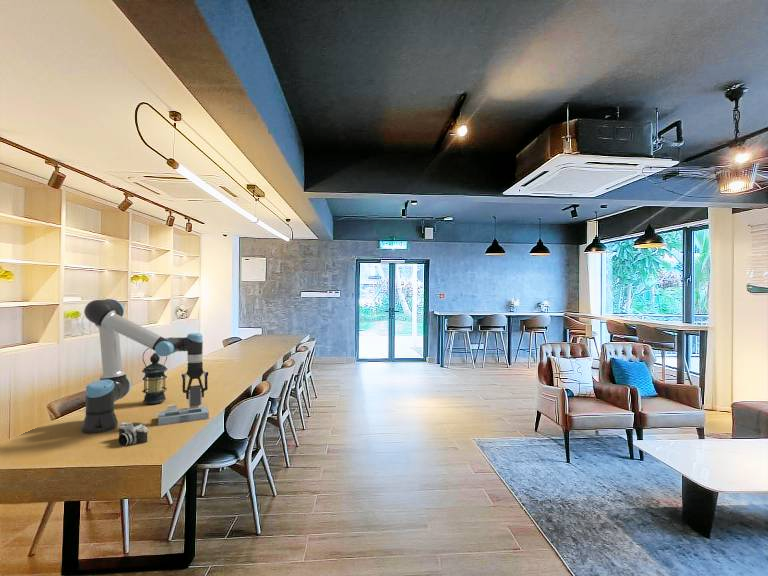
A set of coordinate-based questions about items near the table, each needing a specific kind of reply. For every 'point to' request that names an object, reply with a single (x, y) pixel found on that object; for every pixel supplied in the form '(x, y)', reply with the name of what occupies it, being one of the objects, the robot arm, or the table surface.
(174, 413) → the socket block
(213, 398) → the table surface
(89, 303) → the robot arm
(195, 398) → the plug
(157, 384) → the lantern
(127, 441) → the camera
